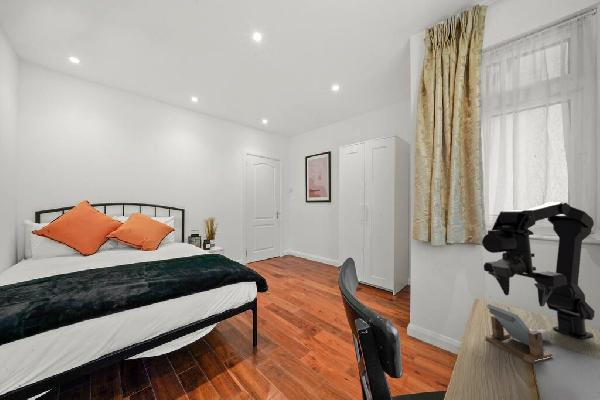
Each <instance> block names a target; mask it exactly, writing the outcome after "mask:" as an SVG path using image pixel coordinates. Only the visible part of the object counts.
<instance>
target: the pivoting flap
mask: <svg viewBox="0 0 600 400" xmlns="http://www.w3.org/2000/svg"><path fill="white" fill-rule="evenodd" d="M486 308H487V309H488V310H489V311H488V312H489V313H490V314H491V315H492V316H495V317H496V319H497V320H498V321H499V322H500V323H501V325H502V326H503V329H504V330H505V332H506V333H508V334H509V335H510V337H511V338H512V339H514V340H516V341H519V342H521V343H523V344H525V345H527V346H529V337H528V332H530V330H529V329H530V328H529V327H528V326H527V325H526V324H525V322H524V321H523V320H522V319H521V317H520V316H519V315H518V314H517V313H513V312H510V311H507V310H505V309H503V308H500V307H498V306H495V305H492V304H489V303H488V304H487V305H486ZM528 328H529V329H528ZM543 351H546V348H545V347H543Z"/></svg>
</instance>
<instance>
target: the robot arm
mask: <svg viewBox="0 0 600 400" xmlns="http://www.w3.org/2000/svg"><path fill="white" fill-rule="evenodd" d="M544 219H547V221H548V222H549V223H551V224H552V225H553V226H552V227H553V228H552V229H553V231H554V233H555V234H556V235H557V237H558V247H557V248H558V249H557V257H556V265H555V266H556V268H555V272H553V271H548V270H544V271H540V272H539V271H538V272H537V268H536V266H533V259H532V258H535V253H533V252H532V251H531V240H530V236H532V235H534V232H533V231H532V230H530V228H532V227H533V226H535V225H536V222H538V221H541V220H544ZM594 221H595V220H594V219H593V217H591V216H590V215H589V214H588V213H587V212H586V211H584V210H581V209H579V208H576V207H573V206H571V205H570V203H569V204H568V202H563V201H560V202H559V201H557V202H554V201H553V202H552V201H551V202H545V203H544V204H541V205H537V206H532V207H529V208H524V209H520V210H519V209H518V210H517V209H516V210H514V209H511V210H500V212H499V214H498V216H497V218H496V220H495V222H494V224H493V227H492V228H491V230H489V229H488V230H487V234H485V235H484V236H483V238H482V240H481V243H482V246H483V248H484V249H485V250H486V251H488V252H489V253H491V254H495V253H497V254H498V253H502V255H501V256H502V258H500V259H498V260H496V261H495V260H494V261H488V262H487V261H486V262H485V263H484V265H483V270H484V272H487V273H488V275H491V276H492V277H493V278H495V279H496V281H497V283H498V284H499V287H500V288H501V290H502V292H503V294H504V296H509V295H510V283H511V282H510V278H513V277H514V276H516V275H517V276H522V277H527V278H531V279H533V280H534V281H535V282H536V283H533V284H534V286H535V287H536V289H537V299H538V303H539V304H538V305H539V307H545V305H547V308H548V309H549V310H552V311H555V312H556V316H557V319H556V320H557V326H553V327H552V330H555V331H558V332H560V333H561V334H564V335H568V336H571V337H573V338H575V339H579V340H581V339H587V338H591V337H593V336H594V334H593V333H591V332H589V331H587V328H586V320H588V321H589V320H590V321H593V320H594V317H595V309H593V307H591V306H590V304H588V303H587V301H586V294H585V293H584V291H583V290H582V289H581V287H580V286H579V279H580V278H579V277H580V266H581V265H580V264H581V253H582V245H583V244H582V243H583V241H585V239H586V238H587V237H589V236H590V235H591V233H592V228H593V227H594V224H595V223H594Z"/></svg>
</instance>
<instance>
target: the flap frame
mask: <svg viewBox="0 0 600 400" xmlns="http://www.w3.org/2000/svg"><path fill="white" fill-rule="evenodd" d="M490 321H491V330H492V331H491V332H492V334H487V335H485V340H487V341H489V342H491V343H492V344H494V345H496V346H498V347H499V348H501V349H504V350H505V351H507V352H509V353H510V354H512V355H515V356H517V357H519V358H521V359H522V360H524V361H526V362H528V363H529V364H532V363H535V362H534V361H535V360H538V359H543V358H547V357H551V356H553V353H551V352H549V351H547V350H545V351H543V348H544V347H543V345H544V343H543V340H542V334H541V332H539V331H537V330H538V329H536V330H534V331H530V332H528V337H529V345H528V347H529V354H526V353H524V352H522V351H520V350H518V349H516V348H514V347H512V346H511V345H508V344H507V343H504V342H502V341H501V340H505V339H511V338H512V337H511V336H510V335H509V333H508V332H507V331H504V330H505V328H504V327H503V326H502V325H501V323H500V322H499V321H498V320H497V319H496V317H495V316H494V315H491V316H490Z"/></svg>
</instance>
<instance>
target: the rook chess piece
mask: <svg viewBox="0 0 600 400" xmlns="http://www.w3.org/2000/svg"><path fill="white" fill-rule="evenodd" d="M528 329H529V330H530V331H535V330H534V329H532V328H529V327H528ZM536 330H537V331H539V332H541V334H542V341H546V342H549V341H551V339H552V333H550V331H549V330H546V329H544V328H540V329H536Z"/></svg>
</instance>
